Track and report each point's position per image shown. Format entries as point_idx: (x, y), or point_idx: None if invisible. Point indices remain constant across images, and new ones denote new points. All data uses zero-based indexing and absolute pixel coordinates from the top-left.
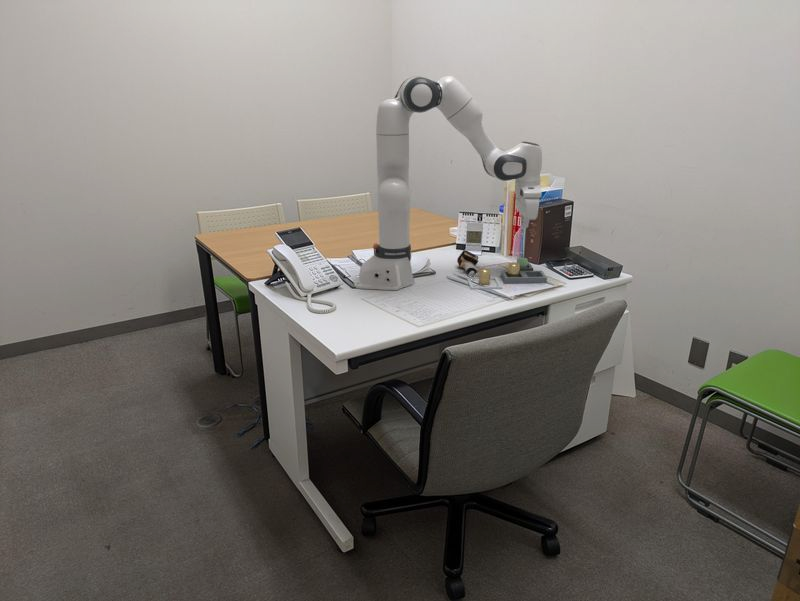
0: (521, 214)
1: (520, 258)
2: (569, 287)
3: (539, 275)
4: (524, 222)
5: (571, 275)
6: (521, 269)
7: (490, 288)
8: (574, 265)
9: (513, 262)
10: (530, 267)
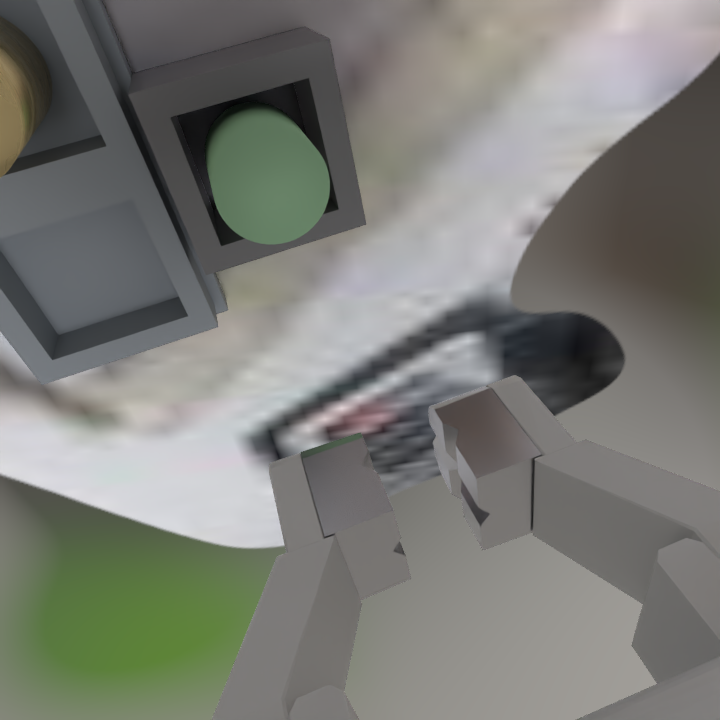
0: (690, 600)
1: (295, 167)
2: (94, 459)
3: (177, 303)
4: (274, 584)
5: (330, 436)
6: (160, 168)
7: None
8: None
9: (9, 100)
10: (222, 250)
